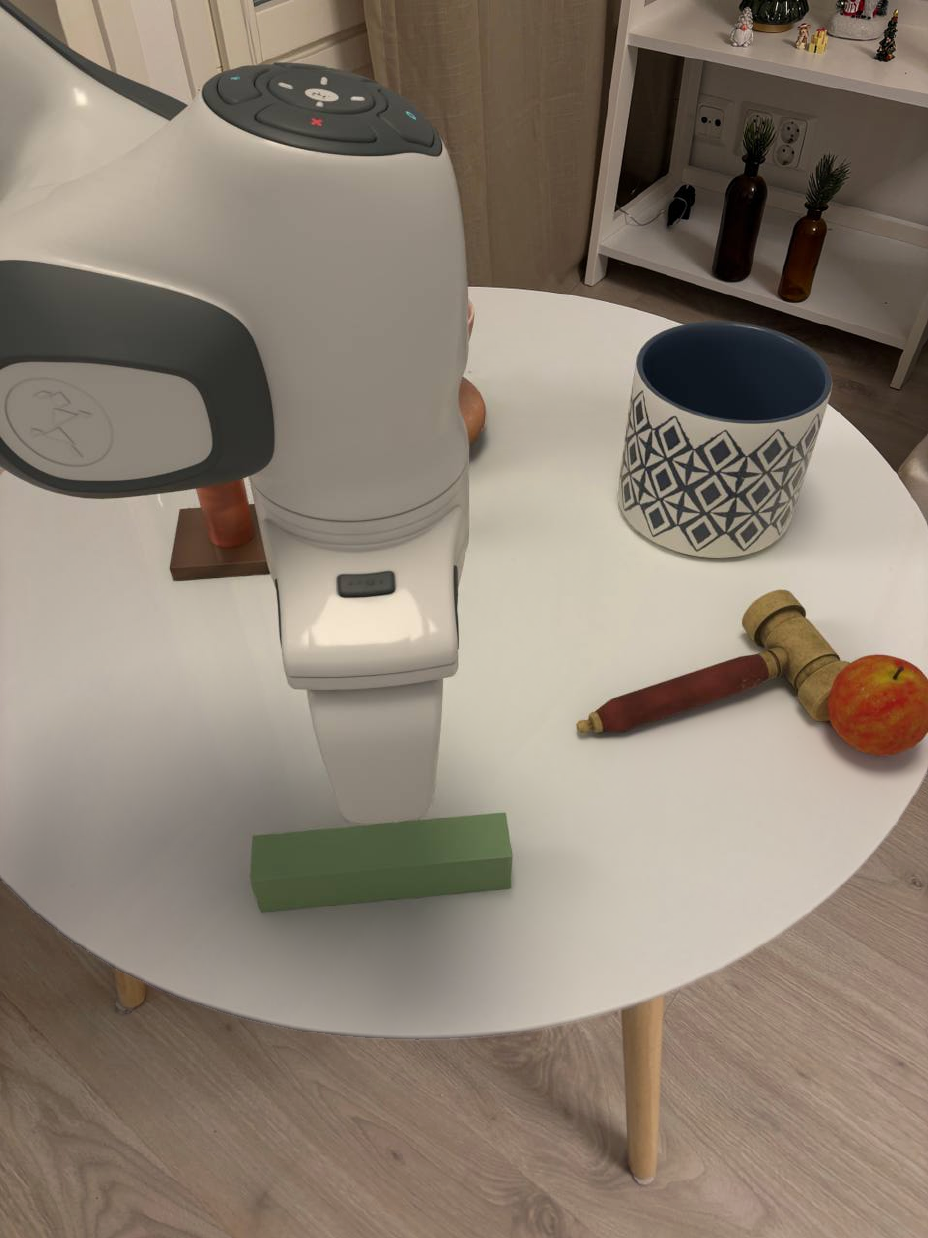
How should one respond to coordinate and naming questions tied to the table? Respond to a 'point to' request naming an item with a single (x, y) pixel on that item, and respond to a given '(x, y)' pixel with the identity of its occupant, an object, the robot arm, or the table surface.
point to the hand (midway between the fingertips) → (385, 713)
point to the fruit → (880, 705)
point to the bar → (381, 862)
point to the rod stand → (218, 536)
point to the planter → (720, 436)
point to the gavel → (738, 671)
